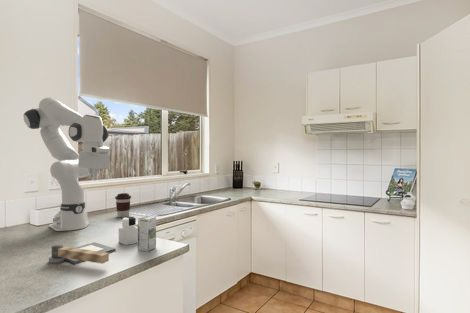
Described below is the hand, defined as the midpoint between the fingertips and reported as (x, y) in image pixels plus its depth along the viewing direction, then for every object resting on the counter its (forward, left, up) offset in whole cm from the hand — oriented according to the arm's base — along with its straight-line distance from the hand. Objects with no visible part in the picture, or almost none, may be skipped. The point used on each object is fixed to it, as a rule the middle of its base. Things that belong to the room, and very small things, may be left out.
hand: (93, 178), depth 139 cm
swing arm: (+20, -18, -29) cm, 40 cm away
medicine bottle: (+13, +10, -31) cm, 35 cm away
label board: (+10, -13, -31) cm, 35 cm away
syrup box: (+28, +8, -31) cm, 43 cm away
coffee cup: (-37, +44, -31) cm, 65 cm away
